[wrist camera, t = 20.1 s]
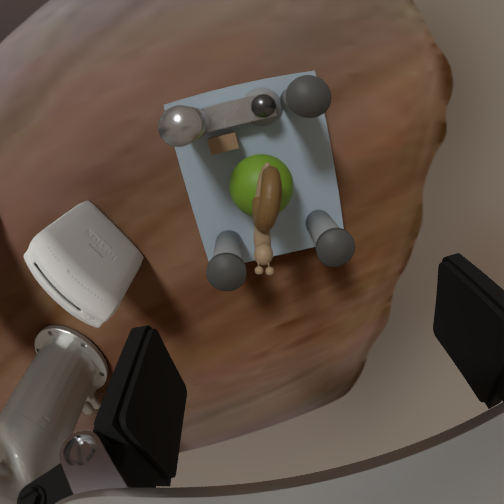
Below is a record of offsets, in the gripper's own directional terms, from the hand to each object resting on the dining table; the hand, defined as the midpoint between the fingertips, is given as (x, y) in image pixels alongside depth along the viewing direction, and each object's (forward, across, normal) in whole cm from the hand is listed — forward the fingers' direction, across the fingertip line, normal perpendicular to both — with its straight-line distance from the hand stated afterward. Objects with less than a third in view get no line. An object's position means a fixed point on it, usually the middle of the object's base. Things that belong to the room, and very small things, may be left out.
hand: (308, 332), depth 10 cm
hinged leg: (+21, +2, -7) cm, 23 cm away
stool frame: (+24, 0, -1) cm, 24 cm away
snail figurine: (+22, 0, 0) cm, 22 cm away
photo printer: (+24, +18, +2) cm, 30 cm away
